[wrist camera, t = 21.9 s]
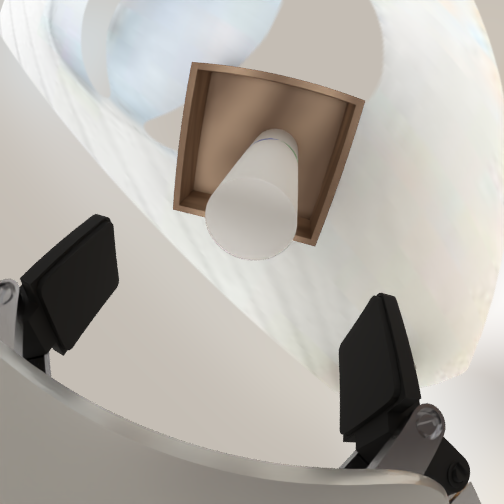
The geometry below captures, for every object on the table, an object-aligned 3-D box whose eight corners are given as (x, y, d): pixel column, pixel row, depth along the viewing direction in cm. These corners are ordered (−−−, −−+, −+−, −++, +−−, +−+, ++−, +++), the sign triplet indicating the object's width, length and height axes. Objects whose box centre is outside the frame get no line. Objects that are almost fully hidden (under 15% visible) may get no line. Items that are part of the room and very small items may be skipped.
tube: (287, 178, 26) (273, 272, 14) (246, 160, 26) (195, 239, 14) (305, 140, 24) (313, 202, 11) (263, 121, 23) (221, 162, 11)
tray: (346, 97, 24) (365, 100, 17) (312, 208, 32) (314, 246, 25) (220, 68, 25) (191, 62, 18) (201, 179, 33) (172, 209, 26)
